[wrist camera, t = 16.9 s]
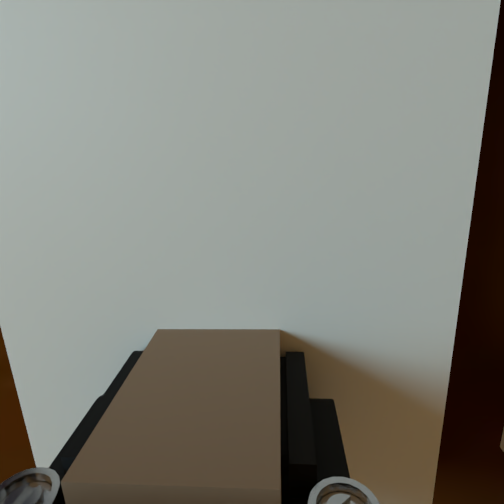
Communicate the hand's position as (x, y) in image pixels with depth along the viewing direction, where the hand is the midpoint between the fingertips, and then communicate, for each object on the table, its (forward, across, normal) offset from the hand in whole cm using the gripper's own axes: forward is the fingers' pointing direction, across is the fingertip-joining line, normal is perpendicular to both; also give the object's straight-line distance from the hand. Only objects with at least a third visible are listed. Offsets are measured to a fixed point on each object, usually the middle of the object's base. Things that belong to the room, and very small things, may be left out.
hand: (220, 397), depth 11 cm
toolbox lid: (+2, 0, -4) cm, 4 cm away
